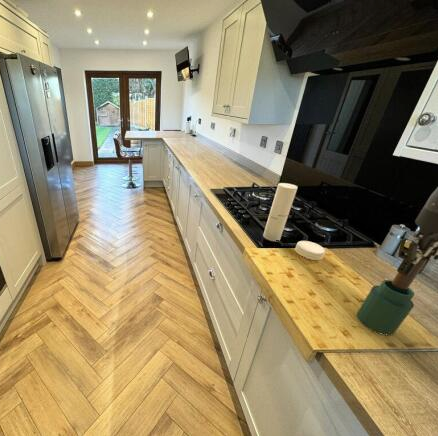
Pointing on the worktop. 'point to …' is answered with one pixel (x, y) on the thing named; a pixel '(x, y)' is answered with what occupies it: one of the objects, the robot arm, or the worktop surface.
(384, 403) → the worktop surface
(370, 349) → the worktop surface
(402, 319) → the green jar
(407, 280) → the dark brown cylinder
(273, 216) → the cylindrical container
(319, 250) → the cream round disc
